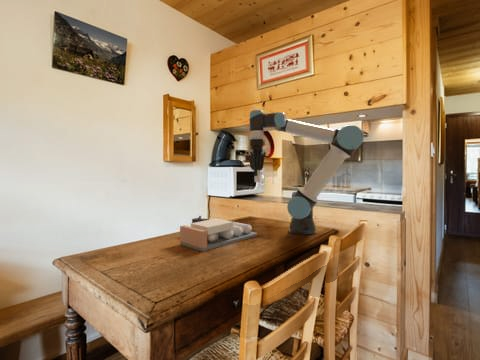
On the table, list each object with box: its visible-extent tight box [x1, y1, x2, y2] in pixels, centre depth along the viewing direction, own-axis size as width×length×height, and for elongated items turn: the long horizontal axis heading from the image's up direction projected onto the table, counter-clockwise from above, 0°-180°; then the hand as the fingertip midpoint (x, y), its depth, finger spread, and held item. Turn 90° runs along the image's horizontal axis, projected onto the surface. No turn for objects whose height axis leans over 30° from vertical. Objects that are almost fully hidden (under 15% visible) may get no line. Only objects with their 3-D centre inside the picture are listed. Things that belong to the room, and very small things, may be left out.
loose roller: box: [207, 233, 218, 243], centre depth 133 cm, size 13×5×5 cm
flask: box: [191, 215, 209, 223], centre depth 153 cm, size 9×3×11 cm, turn 88°
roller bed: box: [179, 221, 259, 252], centre depth 140 cm, size 18×38×9 cm, turn 135°
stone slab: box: [190, 218, 234, 235], centre depth 136 cm, size 14×16×4 cm
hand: (257, 181), depth 149 cm, fingers closed
